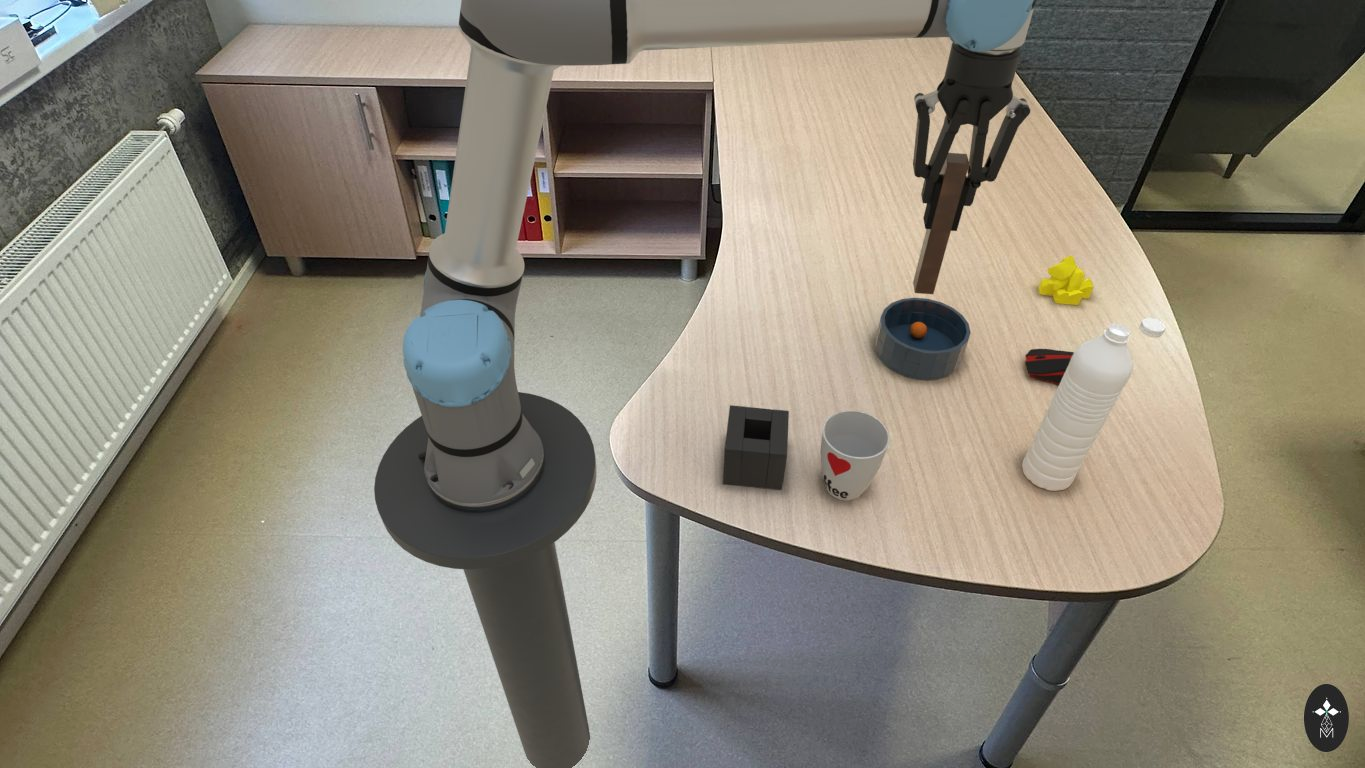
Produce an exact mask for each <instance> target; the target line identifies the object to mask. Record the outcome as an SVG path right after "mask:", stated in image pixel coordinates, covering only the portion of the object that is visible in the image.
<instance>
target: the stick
mask: <svg viewBox="0 0 1365 768" xmlns="http://www.w3.org/2000/svg"><path fill="white" fill-rule="evenodd" d="M968 167H969V157H968V154H967V153H959V152H949V153H948V155H947V158H946V160H945V163H944V165H943V168H942V170H941V173H940V177H941V182H942V189H941V192H940V196H939V200H938V204H937V208H936V212H935V216H934V220H933V224H932V228H931V229H925V233H924V236H923V241H922V245H921V249H920V253H919V257H918V261H917V265H916V270H915V273H914V277H913V281H912V285H913V292H914V294H921V295H922V294H923V295H934V294H935V291H936V286H937V283H938V280H939V275H940V272H941V268H942V264H943V261H944V258H945V253H946V250H947V246H948V243H949V240H950V236H951V232H952V231H951V228H952V225H953V221H954V218H955V214H956V210H957V207H958V203H959V199H960V196H961V192H962V189H963V185H964V182H965V178H966V176H967V175H968Z"/></svg>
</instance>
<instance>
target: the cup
mask: <svg viewBox="0 0 1365 768" xmlns="http://www.w3.org/2000/svg"><path fill="white" fill-rule="evenodd" d="M821 432H822V433H821V442H820V443H821V444H820V454H819V455H820V468H821V469H820V473H821V477H822V480H823V484H824V488H825V490H826V492H827V493H828V494H829V495H830V496H831V497H832V498H835V499H837V500H839V501H840V500H841V501H846V502H847V501H854V500H856V499H858V498H860V497H861V495H862V494H863V493H864V492H865V491H866V490H867V489H868V488H869V486H870V485H871V483H872V482H873V480H874V479H875V477H876V475H877V474H878V471H879V469H880V468H881V466H882V463H883V460H884V458H885V455H886V452H887V450H888V447H889V444H890V437H891V436H890V433H889V431H888V428H887V426H886V425H885V424H884V423H883V422H882V420H880V419H879V418H878V417H876V416H874V415H872V414H870V413H868V412H864V411H861V410H853V409H852V410H851V409H847V410H846V409H845V410H841V411H840V410H839V411H837V412H835V413H833V414H831V415H830V416H829V417H827V418H826V420H825V422H824V424H823V426H822V431H821Z"/></svg>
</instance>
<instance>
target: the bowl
mask: <svg viewBox="0 0 1365 768" xmlns="http://www.w3.org/2000/svg"><path fill="white" fill-rule="evenodd" d="M915 322H922V323H924V324H925V325H926V327H927V333H926V335H925V336H924V337H922V338H915V337H913V336H912V335H911V333H910V327H911V325H912V324H913V323H915ZM970 336H971V328H970V324H969V322H968V320H967V319H966V318H965V317H964V315H963V314H962V313H961V312H959V311H958V310H957V309H956V308H955V307H952V306H950V305H948V304H947V303H944V302H941V301H938V300H934V299H931V298H926V297H925V298H924V297H907V298H902V299H898V300H896V301H893V302H891V303H889V304H888V305H887V306H886V307H885V308H883V311H882V312H881V314H880V318H879V323H878V327H877V331H876V335H875V341H874V350H875V354H876V356H877V358H878V360H880V362H881V363H882V364H883V365H884V366H885V367H886V368H887V369H889V370H890V371H892V372H894V373H896V374H897V375H900V376H902V377H905V378H909V379H913V380H917V381H936V380H942V379H945V378H948V377H949V376H951V375H952V374H954V373H955V372H957V370H958V368H960V366H961V363H962V360H963V357H964V354H965V351H966V349H967V345H968V343H969V339H970Z"/></svg>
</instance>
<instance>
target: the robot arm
mask: <svg viewBox="0 0 1365 768" xmlns="http://www.w3.org/2000/svg"><path fill="white" fill-rule="evenodd" d="M1036 2H1037V0H461V1H460V9H459V18H458V29H459V32H460V33H461V35H462V36H463V38H464V39H465V40H466V41H467V43H468V44H469V45H470V52H469V59H468V60H469V61H468V67H467V75H466V80H465V81H466V82H465V88H464V95H463V101H462V109H461V117H460V124H459V131H458V138H457V145H456V150H455V151H456V152H455V158H454V166H453V171H452V172H453V173H452V178H451V179H452V180H451V186H450V194H449V200H448V202H449V203H448V209H447V213H446V214H447V215H446V221H445V229H444V233H442V234H440V235H438V236H437V237H435V239H433V241H432V242H431V243H430V246H429V250H428V257H427V258H428V259H427V264H426V265H427V266H426V271H425V273H424V278H423V292H422V293H423V295H422V300H421V301H422V302H421V308H420V315H419V316H416V317H415V318H413V320H412V321H411V322H410V323H409V325H408V327H407V329H406V331H405V333H404V336H403V339H402V355H403V367H404V370H405V372H406V377H407V379H408V380H409V383H410V385H411V387H412V390H413V393H414V397H415V399H416V402H417V405H418V408H419V412H420V414H421V415H420V416H422V418H423V421H424V424H425V427H426V430H427V433H428V436H429V438H428V445H427V451H426V452H423V453H420V454H419V455H418V458H419V459H421V460H422V459H425V464H424V471H425V476H426V479H427V482H428V485H429V487H430V490H431V492H432V493H433V495H434V496H435V497H436V498H437V499H438V500H439V501H440V502H441V503H443V504H444V505H446V506H448V507H450V508H452V509H455V510H458V511H462V512H470V513H482V512H490V511H494V510H498V509H502V508H504V507H507V506H509V505H511V504H513V503H515V502H517V501H519V500H520V499H522V498H523V497H524V496H526V495H527V494H528V493H529V492H530V491H531V490H532V489H533V488H534V487H535V486H536V484H537V483H538V481H539V480H540V478H541V476H542V473H543V470H544V466H545V456H544V450H543V445H542V441H541V439H540V437H539V435H538V434H537V432H536V431H535V430H534V429H533V428H532V427H531V425H530V424H529V422H528V421H527V419H526V418H525V417H524V415H523V414H522V411H521V405H520V400H519V395H518V392H519V390H518V385H517V380H516V379H517V378H516V371H515V339H516V338H515V337H516V336H515V332H516V331H515V329H516V327H515V325H516V323H515V321H516V309H517V304H518V299H519V296H520V290H521V285H522V280H523V275H524V271H525V261H524V257H523V256H522V253H520V251H519V250H518V249H517V246H518V241H519V237H520V231H521V226H522V222H523V217H524V213H525V208H526V203H527V198H528V194H529V189H530V184H531V180H532V175H533V172H534V171H533V170H534V166H535V161H536V156H537V152H538V148H539V142H540V137H541V133H542V129H543V124H544V120H545V119H544V118H545V115H546V109H547V106H548V100H549V95H550V90H551V87H552V81H553V77H554V72H555V70H557V69H559V68H560V67H563V66H566V67H567V66H570V67H572V66H573V67H574V66H607V65H608V66H609V65H626V64H627V65H628V64H631V63H632V61H633V60H634V59H635V58H636V57H637V56H638V55H639V53H641V52H643V51H659V50H682V49H683V50H684V49H704V48H724V47H725V48H726V47H745V46H746V47H747V46H768V45H771V46H772V45H791V44H812V43H834V42H835V43H836V42H855V41H858V42H859V41H877V40H898V39H899V40H901V39H902V40H903V39H924V38H925V39H926V38H928V39H929V38H931V39H933V38H949V39H950V41H951V42H952V43H951V46H950V51H949V55H948V58H947V59H948V60H947V64H946V68H945V72H944V75H943V76H944V77H943V78H942V80H941V82H939V84H938V85H937V88H936V90H934V91H932V92H928V93H927V94H924V93H923V92H918V93H916V94H915V95H914V97H913V98H914V105H915V110H916V113H917V120H916V129H915V139H914V140H915V141H914V150H913V159H912V166H913V173H914V177H916V178H922V179H923V184H922V189H921V192H920V196H921V202H922V204H926V206H925V210H924V214H923V224H924V229H925V230H926V229H931V228H932V224H933V220H934V216H935V212H936V208H937V204H938V200H939V196H940V192H941V189H942V182H941V177H940V173H941V170H942V168H943V165H944V163H945V160H946V158H947V155H948V153H950V151H951V150H950V149H951V148H952V145H953V142H954V140H955V137H956V135H957V134H958V133H959V132H960V128H961V126H964V125H969V126H972V127H973V128H972V133H971V141H970V149H969V157H968V161H969V167H968V171H967V175H966V178H965V182H964V185H963V189H962V192H961V196H960V199H959V203H958V207H957V210H956V214H955V218H954V221H953V225H952V228H951V232H958V229H959V224H960V221H961V217H962V214H963V211H964V208H965V207H971V206H972V205H973V204H974V199H975V197H976V193H977V190H978V189H979V188H980V187H981V185H982V183H983V182H989V183H992V182H995V180H997V178H998V175H999V173H1000V170H1001V168H1002V166H1003V163H1004V161H1005V159H1006V157H1007V154H1008V151H1009V149H1010V147H1011V145H1012V143H1013V141H1014V138H1015V135H1016V133H1017V131H1018V129H1019V127H1020V126H1021V124H1023V122H1024V121H1025V120H1026V119H1027V117H1028V116H1029V115H1030V114H1031V108H1030V106H1029V104H1028V101H1027V99H1026V98H1023V97H1021V98H1018V97H1016V96H1014V92H1013V88H1012V87H1013V82H1014V80H1015V76H1016V73H1017V69H1018V66H1019V63H1020V58H1021V56H1022V48H1021V47H1022V46H1023V45H1024V44H1025V42H1026V39H1027V35H1028V33H1029V28H1030V24H1031V21H1032V17H1033V14H1034V9H1035V6H1036ZM938 102H939V103H940V105H941V108H942V109H943V110H944V114H945V117H944V120H943V124H942V127H941V130H940V132H939V135H938V137H937V140H936V143H935V145H934V148H933V150H932V153H931V156H930V158H929V160H928V163H927V153H928V145H929V135H930V126H931V116H930V115H931V114H933V112H934V111H936V104H937V103H938ZM1004 108H1005V110H1004ZM1002 110H1004V111H1005V116H1004V118H1003V119H1002V122H1001V124H1000V127H999V129H998V131H997V135H996V136H995V138H994V141H993V144H992V147H991V149H990V151H989V153H988V156H987V159H986V161H985V163H984V157H985V149H986V143H987V142H986V141H987V135H988V133H989V127H990V122H991V120H992V119H993V118H994V117H995V116H997V115H998V114H999V113H1000V112H1001V111H1002ZM983 163H984V165H983Z"/></svg>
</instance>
